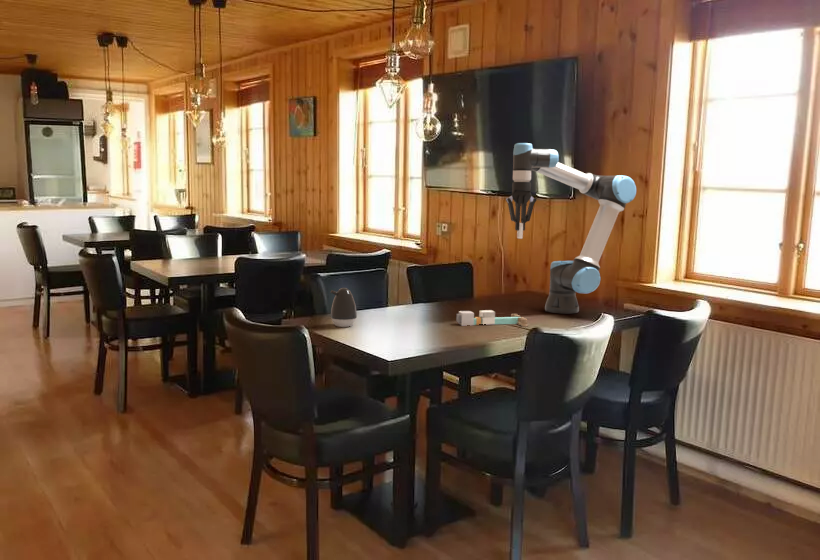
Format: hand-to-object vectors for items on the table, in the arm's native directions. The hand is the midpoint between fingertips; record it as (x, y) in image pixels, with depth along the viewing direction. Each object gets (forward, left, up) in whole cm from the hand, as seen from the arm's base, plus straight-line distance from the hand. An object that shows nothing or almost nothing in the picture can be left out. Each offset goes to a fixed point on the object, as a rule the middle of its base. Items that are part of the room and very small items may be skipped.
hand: (519, 238), depth 296 cm
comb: (+2, +8, -34) cm, 35 cm away
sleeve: (+16, +8, -34) cm, 39 cm away
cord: (+15, +8, -34) cm, 38 cm away
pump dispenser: (+74, +6, -35) cm, 82 cm away
